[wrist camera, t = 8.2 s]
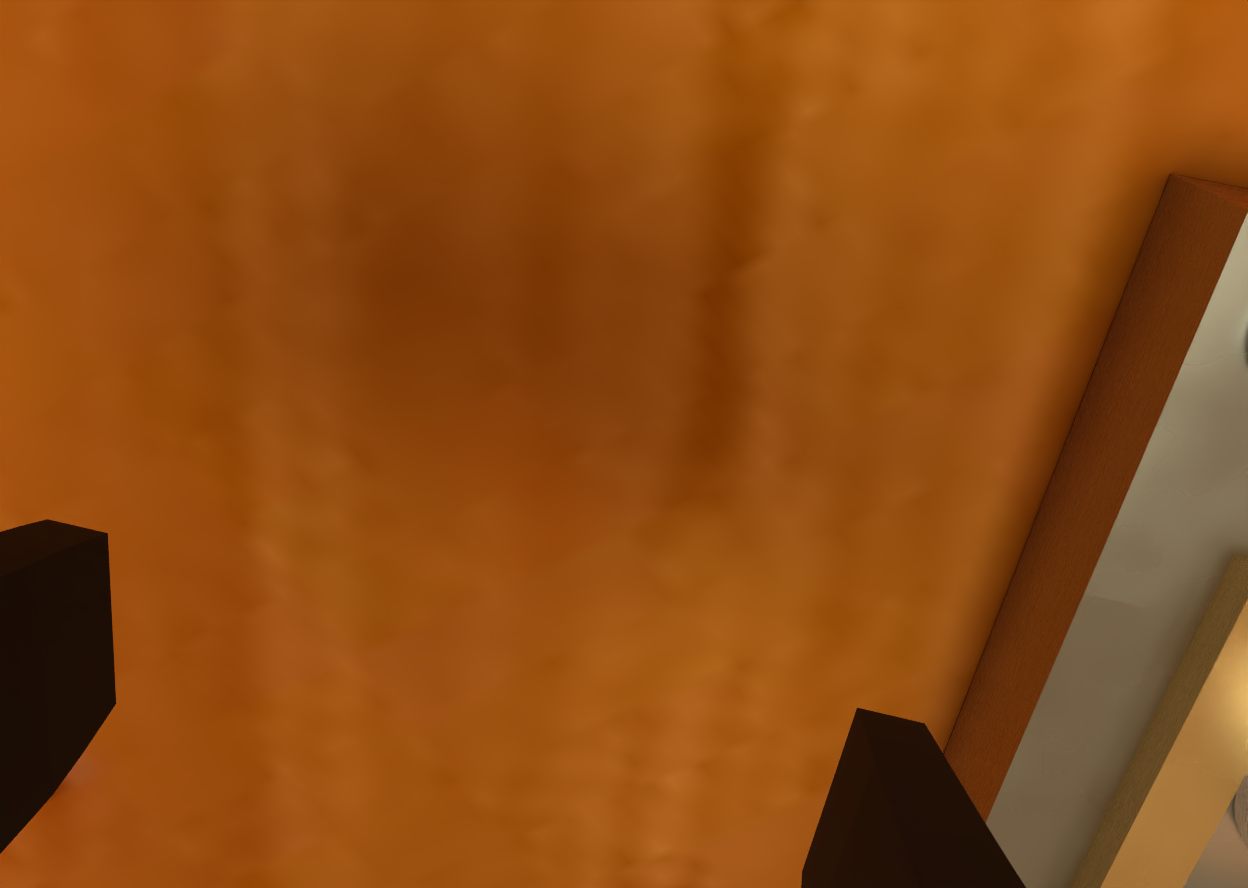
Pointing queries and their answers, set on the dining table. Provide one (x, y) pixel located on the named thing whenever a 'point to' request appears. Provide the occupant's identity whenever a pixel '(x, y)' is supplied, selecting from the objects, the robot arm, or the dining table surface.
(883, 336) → the dining table surface
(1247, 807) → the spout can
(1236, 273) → the metal base plate
